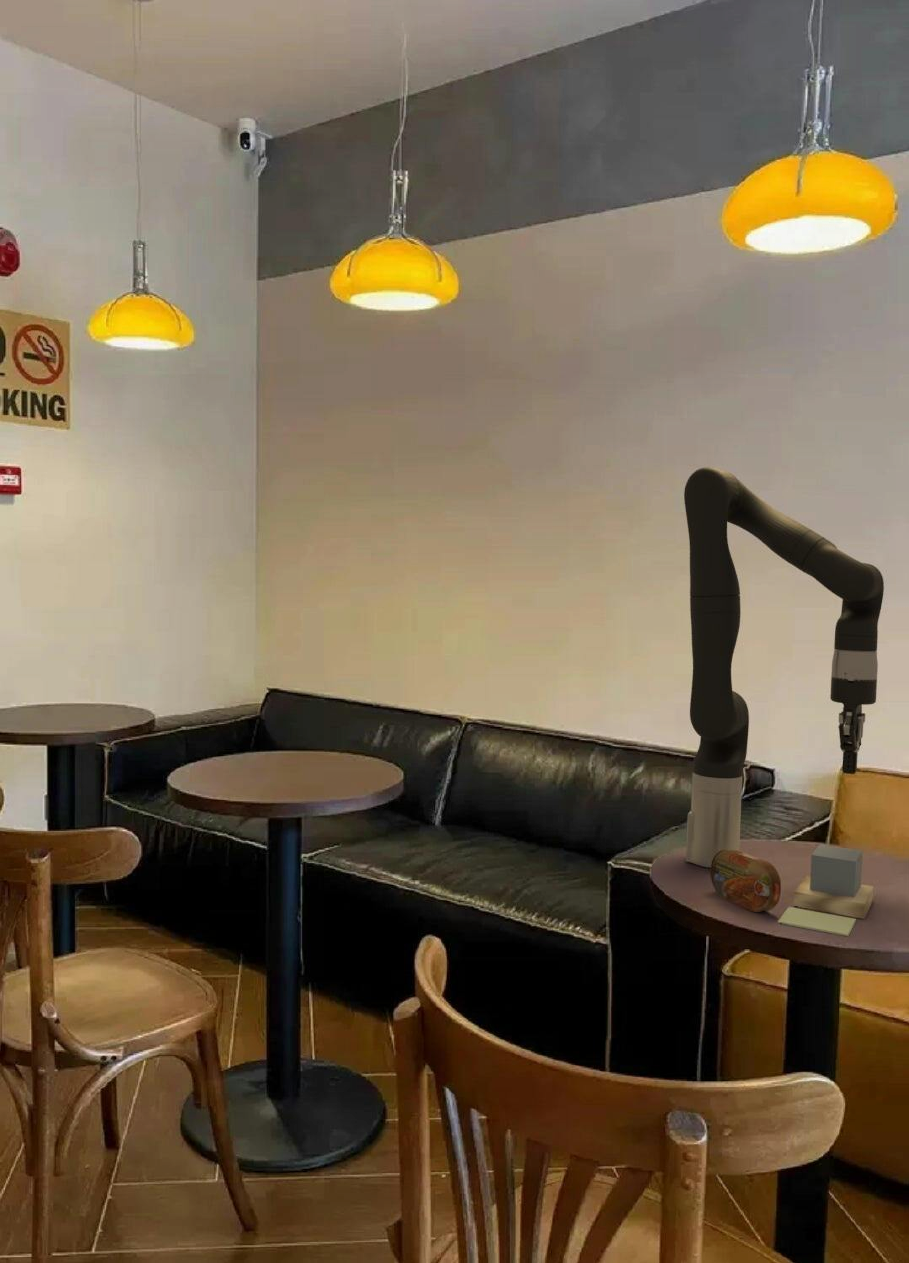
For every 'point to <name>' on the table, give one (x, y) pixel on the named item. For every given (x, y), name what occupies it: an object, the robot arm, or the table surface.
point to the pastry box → (836, 870)
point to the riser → (834, 900)
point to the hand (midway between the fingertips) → (849, 773)
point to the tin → (745, 880)
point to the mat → (817, 921)
